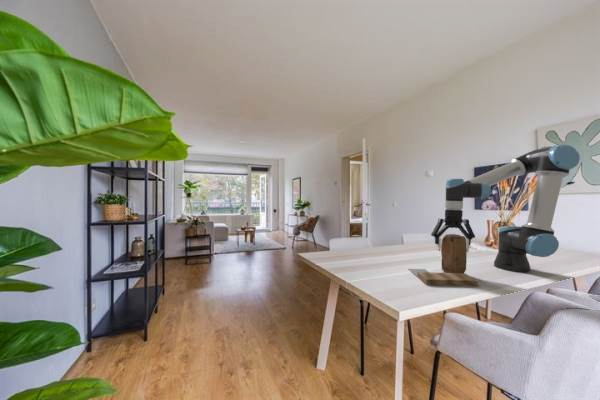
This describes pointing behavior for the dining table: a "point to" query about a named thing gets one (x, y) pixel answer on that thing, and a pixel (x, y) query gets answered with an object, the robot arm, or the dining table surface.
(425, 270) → the end pad
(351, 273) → the dining table surface
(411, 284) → the dining table surface
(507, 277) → the dining table surface
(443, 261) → the block
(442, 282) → the board
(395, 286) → the dining table surface
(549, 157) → the robot arm
